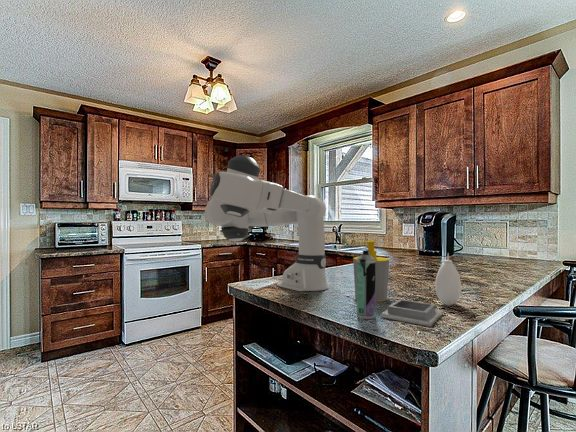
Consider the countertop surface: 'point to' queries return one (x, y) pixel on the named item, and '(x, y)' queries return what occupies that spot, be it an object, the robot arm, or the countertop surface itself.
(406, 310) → the socket block
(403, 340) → the countertop surface
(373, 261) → the spray can
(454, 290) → the white bulb air blower
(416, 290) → the countertop surface
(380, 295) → the soap bottle
